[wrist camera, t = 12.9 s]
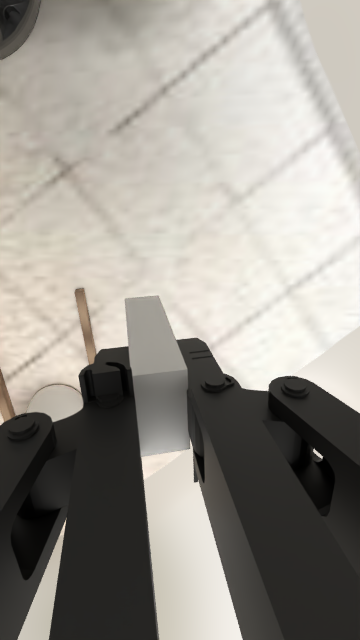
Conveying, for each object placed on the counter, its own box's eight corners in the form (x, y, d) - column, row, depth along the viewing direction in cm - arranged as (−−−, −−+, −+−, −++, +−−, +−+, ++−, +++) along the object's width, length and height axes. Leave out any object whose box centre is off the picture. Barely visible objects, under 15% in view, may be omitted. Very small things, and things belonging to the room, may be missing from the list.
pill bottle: (17, 407, 48) (-22, 493, 34) (57, 372, 47) (33, 447, 34) (59, 437, 51) (38, 527, 38) (97, 405, 50) (90, 485, 37)
